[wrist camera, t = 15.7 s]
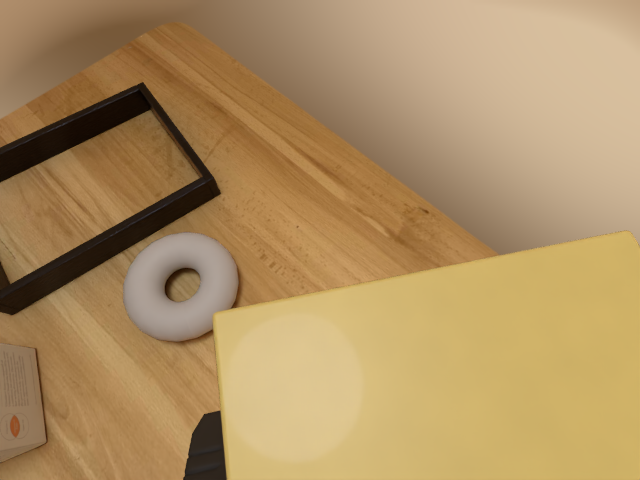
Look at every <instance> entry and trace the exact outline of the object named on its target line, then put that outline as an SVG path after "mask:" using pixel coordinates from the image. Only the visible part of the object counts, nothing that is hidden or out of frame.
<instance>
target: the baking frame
mask: <svg viewBox="0 0 640 480" xmlns="http://www.w3.org/2000/svg"><path fill="white" fill-rule="evenodd" d="M149 109H151V110H152V112H153V113H154V115H155V116H156V117H157V119H158V120H159V121H160V123H161V124H162V126H163V127H164V128H165V130H166V131H167V133H168V134H169V135H170V137H171V138H172V139H173V141H174V142H175V144H176V145H177V146H178V148H179V149H180V150H181V152H182V153H183V155H184V156H185V157H186V159H187V160H188V161H189V163H190V164H191V166H192V167H193V168H194V170H195V171H196V172H197V174H198V175H199V177H200V178H199V179H197V180H196V181H194V182H192V183H190V184H189V185H187V186H185V187H183V188H181V189H180V190H178V191H176V192H174V193H172V194H171V195H169V196H167V197H165V198H164V199H162V200H160V201H158V202H156V203H155V204H153V205H151V206H149V207H147V208H146V209H144V210H142V211H140V212H139V213H137V214H135V215H133V216H131V217H130V218H128V219H126V220H124V221H123V222H121V223H119V224H117V225H115V226H114V227H112V228H110V229H108V230H106V231H105V232H103V233H101V234H99V235H98V236H96V237H94V238H92V239H90V240H89V241H87V242H85V243H83V244H81V245H80V246H78V247H76V248H74V249H73V250H71V251H69V252H67V253H65V254H64V255H62V256H60V257H58V258H56V259H55V260H53V261H51V262H49V263H48V264H46V265H44V266H42V267H40V268H39V269H37V270H35V271H33V272H32V273H30V274H28V275H26V276H24V277H23V278H21V279H19V280H17V281H15V282H14V283H12V284H9V282H8V280H7V277H6V275H5V273H4V270H3V268H2V266H1V263H0V312H2V313H6V314H10V315H13V314H15V313H17V312H18V311H20V310H22V309H24V308H25V307H27V306H29V305H30V304H32V303H34V302H36V301H37V300H39V299H41V298H42V297H44V296H46V295H48V294H49V293H51V292H53V291H54V290H56V289H58V288H60V287H61V286H63V285H65V284H66V283H68V282H70V281H72V280H73V279H75V278H77V277H78V276H80V275H82V274H84V273H85V272H87V271H89V270H90V269H92V268H94V267H96V266H97V265H99V264H101V263H102V262H104V261H106V260H108V259H109V258H111V257H113V256H115V255H116V254H118V253H120V252H121V251H123V250H125V249H127V248H128V247H130V246H132V245H133V244H135V243H137V242H139V241H140V240H142V239H144V238H145V237H147V236H149V235H151V234H152V233H154V232H156V231H157V230H159V229H161V228H163V227H164V226H166V225H168V224H169V223H171V222H173V221H175V220H176V219H178V218H180V217H181V216H183V215H185V214H187V213H188V212H190V211H192V210H193V209H195V208H197V207H199V206H200V205H202V204H204V203H205V202H207V201H209V200H211V199H212V198H214V197H215V196H217V195H219V194H220V190H219V188H218V186H217V183H216V181H215V179H214V177H213V176H212V174H211V173H210V172H209V170H208V169H207V168H206V166H205V165H204V164H203V162H202V161H201V160H200V158H199V157H198V156H197V154H196V153H195V151H194V150H193V149H192V147H191V146H190V145H189V143H188V142H187V141H186V139H185V138H184V137H183V135H182V134H181V133H180V131H179V130H178V129H177V127H176V126H175V125H174V123H173V122H172V121H171V119H170V118H169V116H168V115H167V114H166V112H165V111H164V110H163V108H162V107H161V106H160V104H159V103H158V102H157V100H156V99H155V98H154V96H153V95H152V94H151V92H150V91H149V90H148V88H147V87H146V85H145V84H144V83H143V82H142V83H140V84H138V85H137V86H136V85H135V86H133V87H131V88H129V89H127V90H124V91H122V92H120V93H118V94H116V95H114V96H111V97H109V98H107V99H105V100H103V101H100V102H98V103H96V104H94V105H92V106H90V107H87V108H85V109H83V110H81V111H79V112H77V113H74V114H72V115H70V116H68V117H66V118H64V119H61V120H59V121H57V122H55V123H53V124H50V125H48V126H46V127H44V128H42V129H40V130H37V131H35V132H33V133H31V134H29V135H27V136H24V137H22V138H20V139H18V140H16V141H14V142H11V143H9V144H7V145H5V146H3V147H0V182H1V181H3V180H5V179H7V178H9V177H11V176H13V175H15V174H17V173H19V172H21V171H23V170H25V169H27V168H29V167H32V166H34V165H36V164H38V163H40V162H42V161H44V160H46V159H48V158H50V157H52V156H54V155H56V154H58V153H60V152H63V151H65V150H67V149H69V148H71V147H73V146H75V145H77V144H79V143H81V142H83V141H85V140H87V139H89V138H91V137H94V136H96V135H98V134H100V133H102V132H104V131H106V130H108V129H110V128H112V127H114V126H116V125H118V124H120V123H122V122H124V121H127V120H129V119H131V118H133V117H135V116H137V115H139V114H141V113H143V112H145V111H147V110H149Z"/></svg>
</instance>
